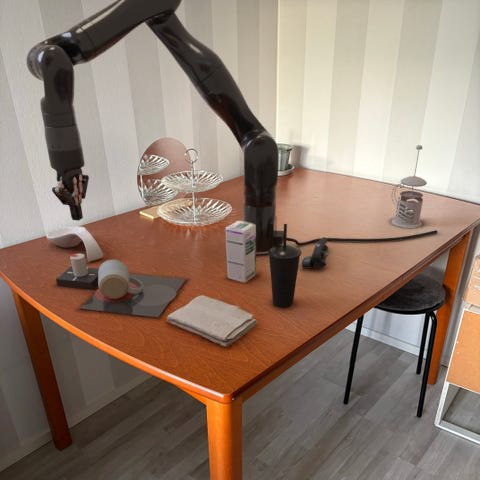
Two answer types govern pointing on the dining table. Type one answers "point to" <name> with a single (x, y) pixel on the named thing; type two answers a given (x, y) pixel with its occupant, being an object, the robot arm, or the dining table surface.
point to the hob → (139, 297)
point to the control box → (78, 279)
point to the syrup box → (241, 251)
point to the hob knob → (79, 265)
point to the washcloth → (213, 320)
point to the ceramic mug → (116, 280)
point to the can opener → (317, 255)
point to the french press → (409, 202)
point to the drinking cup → (283, 272)
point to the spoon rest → (76, 240)
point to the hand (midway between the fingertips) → (77, 219)
